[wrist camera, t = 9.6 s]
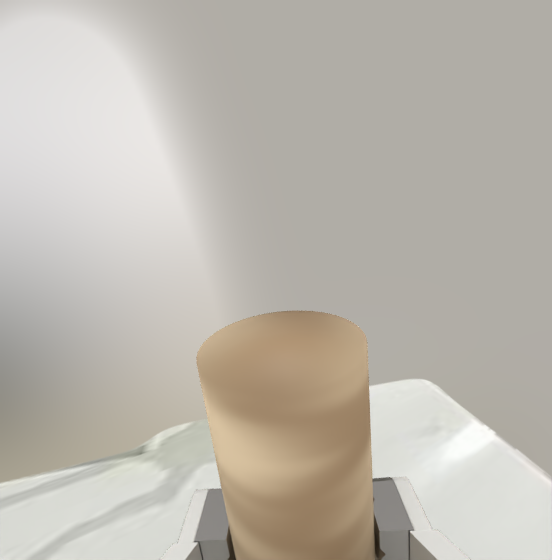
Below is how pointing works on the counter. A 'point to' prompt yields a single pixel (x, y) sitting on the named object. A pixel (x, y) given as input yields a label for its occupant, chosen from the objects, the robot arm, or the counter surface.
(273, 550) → the drive pin
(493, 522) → the counter surface
